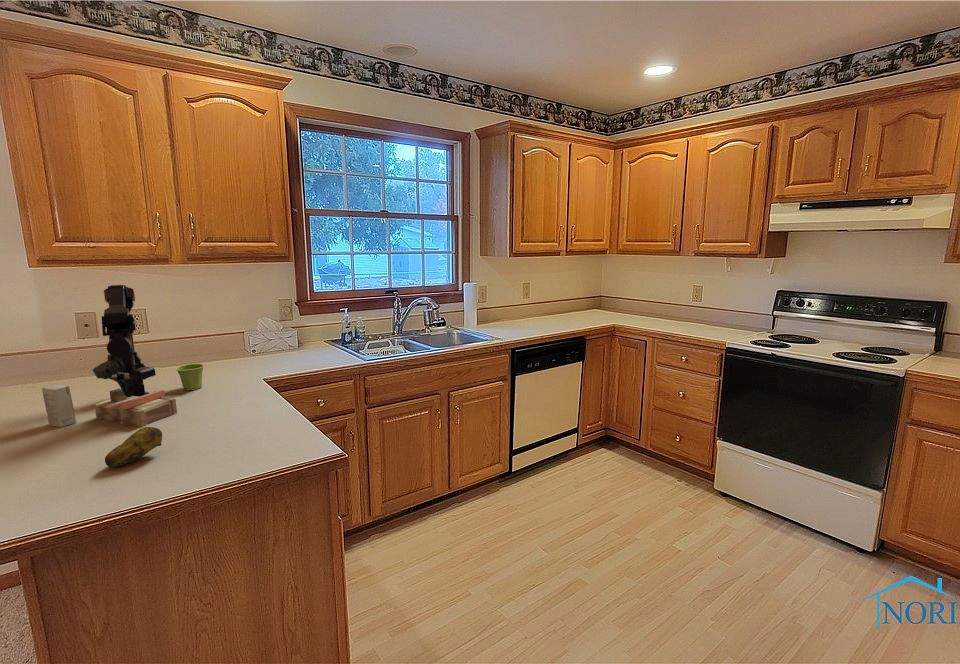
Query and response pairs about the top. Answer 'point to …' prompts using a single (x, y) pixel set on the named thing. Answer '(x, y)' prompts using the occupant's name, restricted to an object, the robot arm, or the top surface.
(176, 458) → the top surface
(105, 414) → the toolbox
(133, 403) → the bar
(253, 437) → the top surface
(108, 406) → the lid
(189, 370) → the plant pot
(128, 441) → the potato
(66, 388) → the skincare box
